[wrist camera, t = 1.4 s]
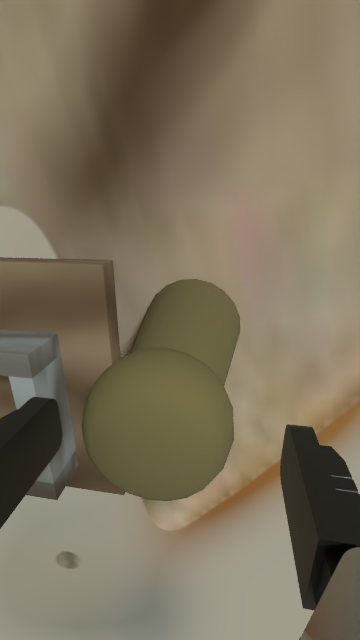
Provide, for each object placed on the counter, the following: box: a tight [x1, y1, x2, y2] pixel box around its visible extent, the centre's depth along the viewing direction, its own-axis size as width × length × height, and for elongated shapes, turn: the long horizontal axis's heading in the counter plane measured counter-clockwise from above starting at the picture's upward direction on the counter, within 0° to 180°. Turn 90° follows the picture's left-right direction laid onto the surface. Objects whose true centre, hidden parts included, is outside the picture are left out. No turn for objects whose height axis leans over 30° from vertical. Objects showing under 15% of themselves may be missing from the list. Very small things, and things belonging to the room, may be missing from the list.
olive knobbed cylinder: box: [82, 279, 240, 501], centre depth 14 cm, size 6×6×11 cm
